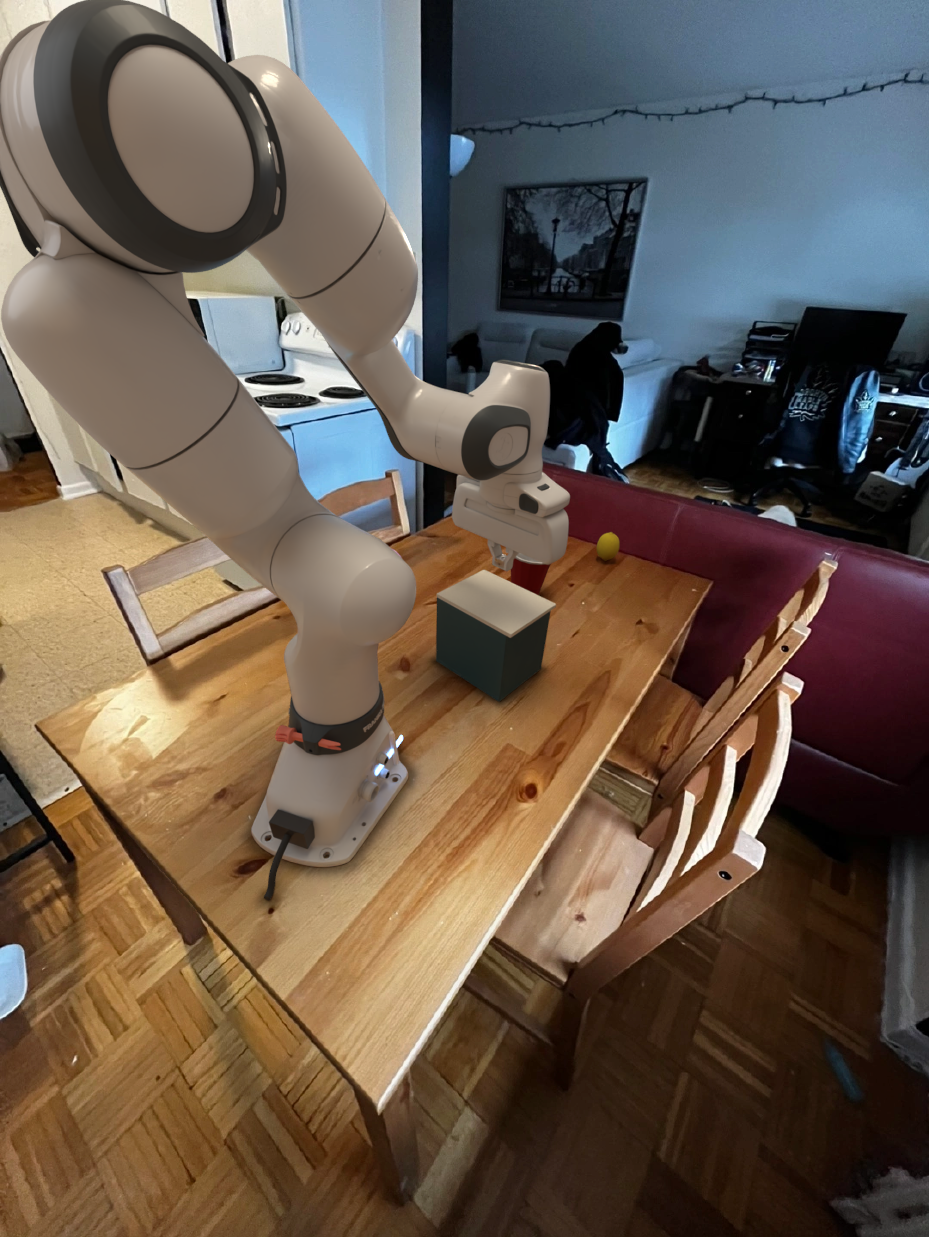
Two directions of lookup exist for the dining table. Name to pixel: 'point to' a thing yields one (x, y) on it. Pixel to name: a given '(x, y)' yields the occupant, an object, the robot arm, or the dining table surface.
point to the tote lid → (497, 602)
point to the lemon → (608, 546)
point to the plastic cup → (528, 573)
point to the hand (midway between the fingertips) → (502, 567)
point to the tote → (488, 651)
